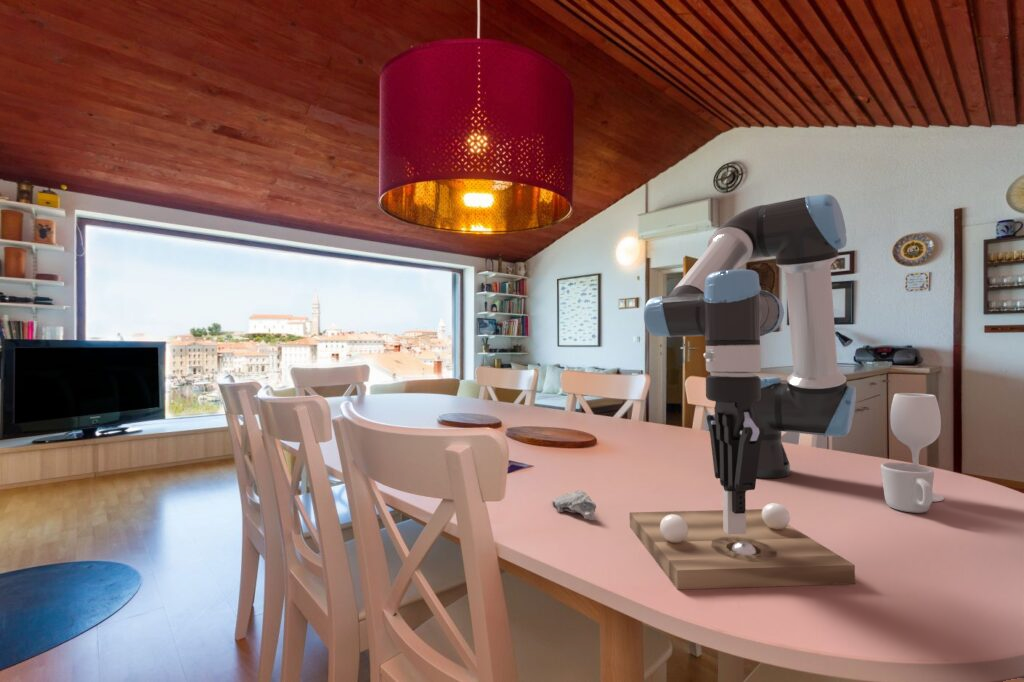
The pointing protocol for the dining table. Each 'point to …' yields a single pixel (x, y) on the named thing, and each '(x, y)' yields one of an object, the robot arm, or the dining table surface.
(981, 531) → the dining table surface
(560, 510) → the stone
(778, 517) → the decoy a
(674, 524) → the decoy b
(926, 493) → the cup
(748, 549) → the steel ball
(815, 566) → the board
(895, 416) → the wineglass
